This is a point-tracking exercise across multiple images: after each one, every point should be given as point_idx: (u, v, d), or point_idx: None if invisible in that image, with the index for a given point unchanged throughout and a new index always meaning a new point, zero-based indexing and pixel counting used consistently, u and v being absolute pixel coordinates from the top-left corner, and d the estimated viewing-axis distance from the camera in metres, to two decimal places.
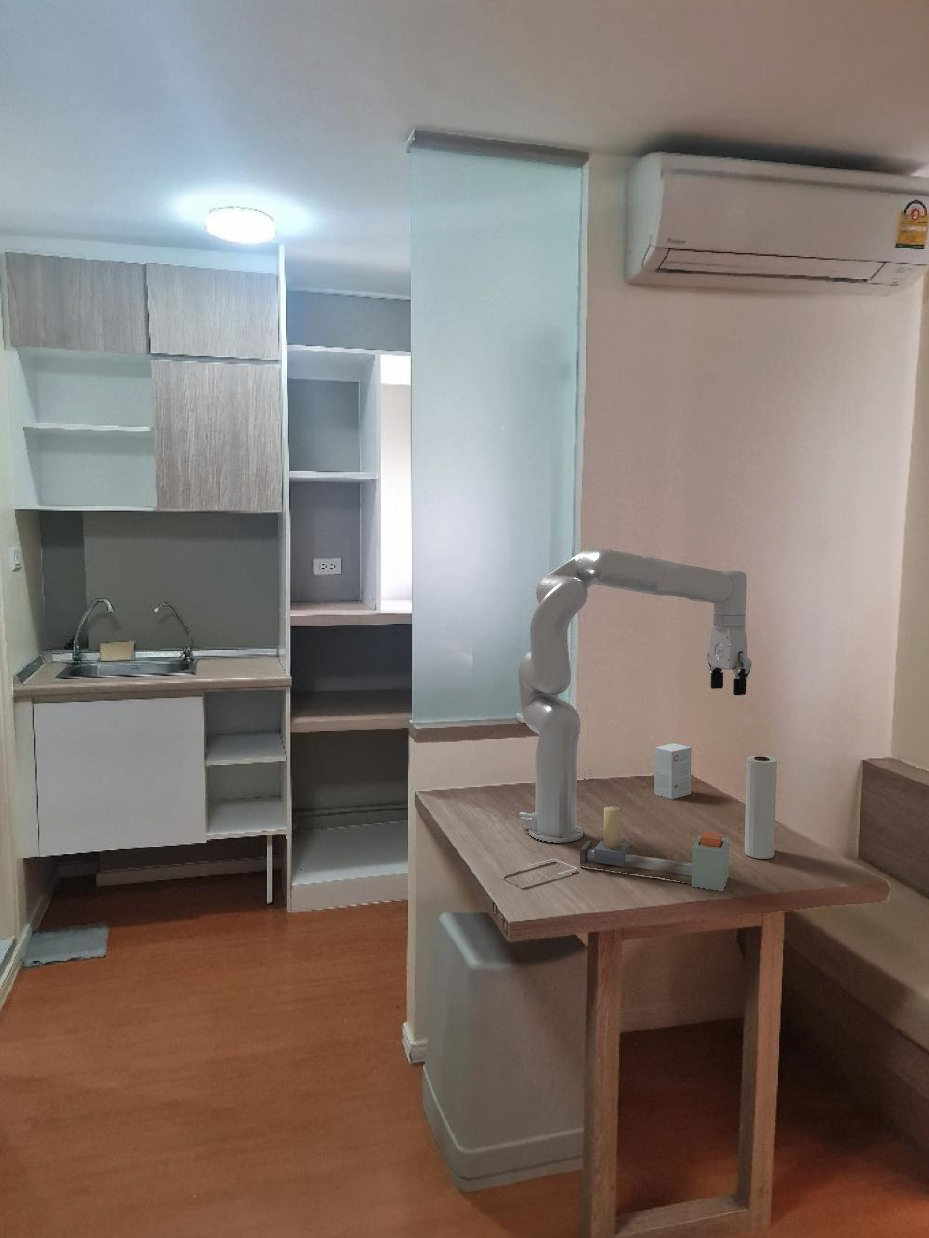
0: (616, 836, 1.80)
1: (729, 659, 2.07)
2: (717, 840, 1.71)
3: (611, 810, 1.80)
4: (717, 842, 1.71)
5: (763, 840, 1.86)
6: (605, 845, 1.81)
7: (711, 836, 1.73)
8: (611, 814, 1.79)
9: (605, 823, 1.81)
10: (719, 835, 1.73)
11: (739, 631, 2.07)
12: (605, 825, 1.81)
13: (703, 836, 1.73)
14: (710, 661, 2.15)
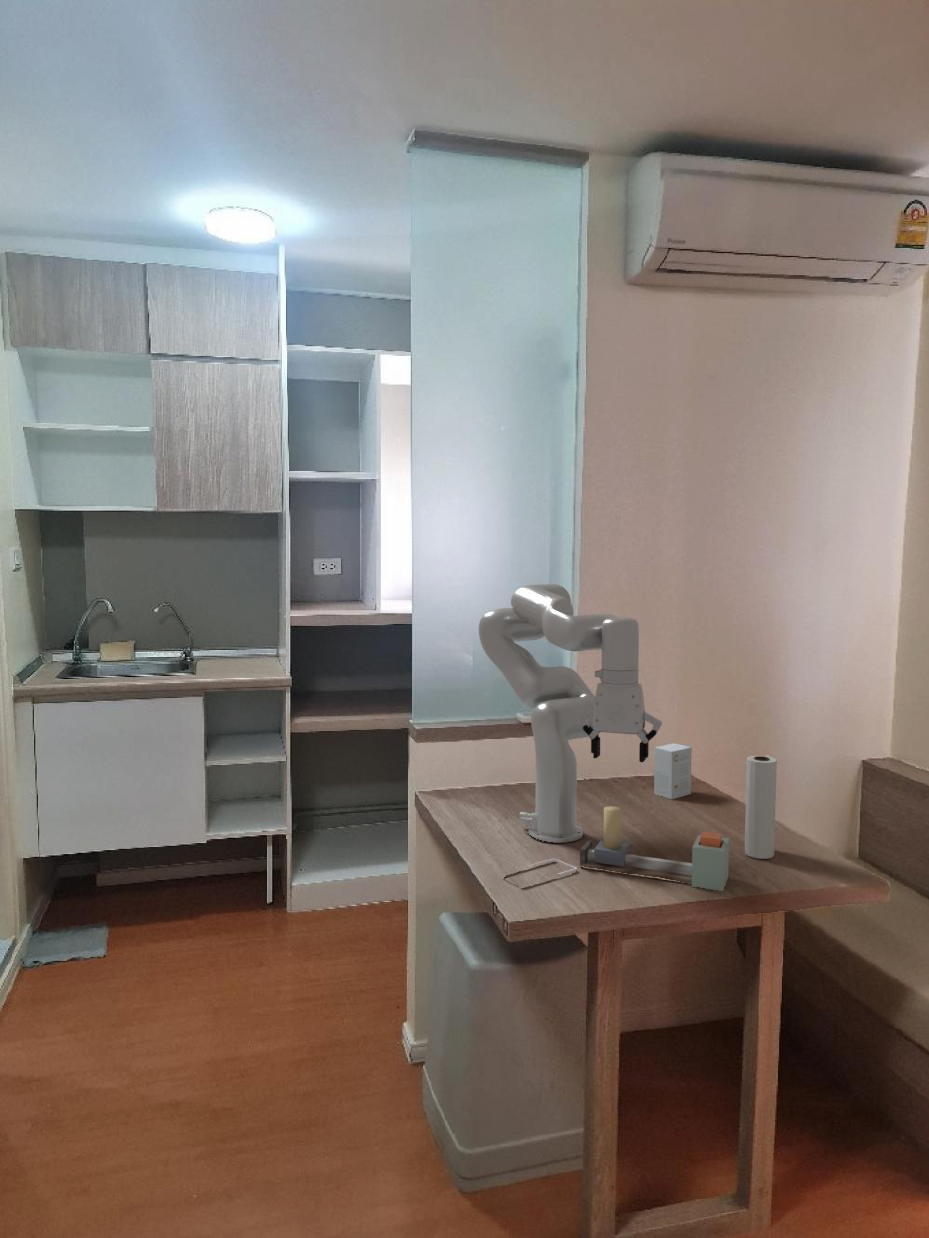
0: (616, 836, 1.80)
1: (637, 722, 1.77)
2: (717, 840, 1.71)
3: (611, 810, 1.80)
4: (717, 842, 1.71)
5: (763, 840, 1.86)
6: (605, 845, 1.81)
7: (711, 836, 1.73)
8: (611, 814, 1.79)
9: (605, 823, 1.81)
10: (719, 835, 1.73)
11: (641, 688, 1.78)
12: (605, 825, 1.81)
13: (703, 836, 1.73)
14: (599, 726, 1.80)
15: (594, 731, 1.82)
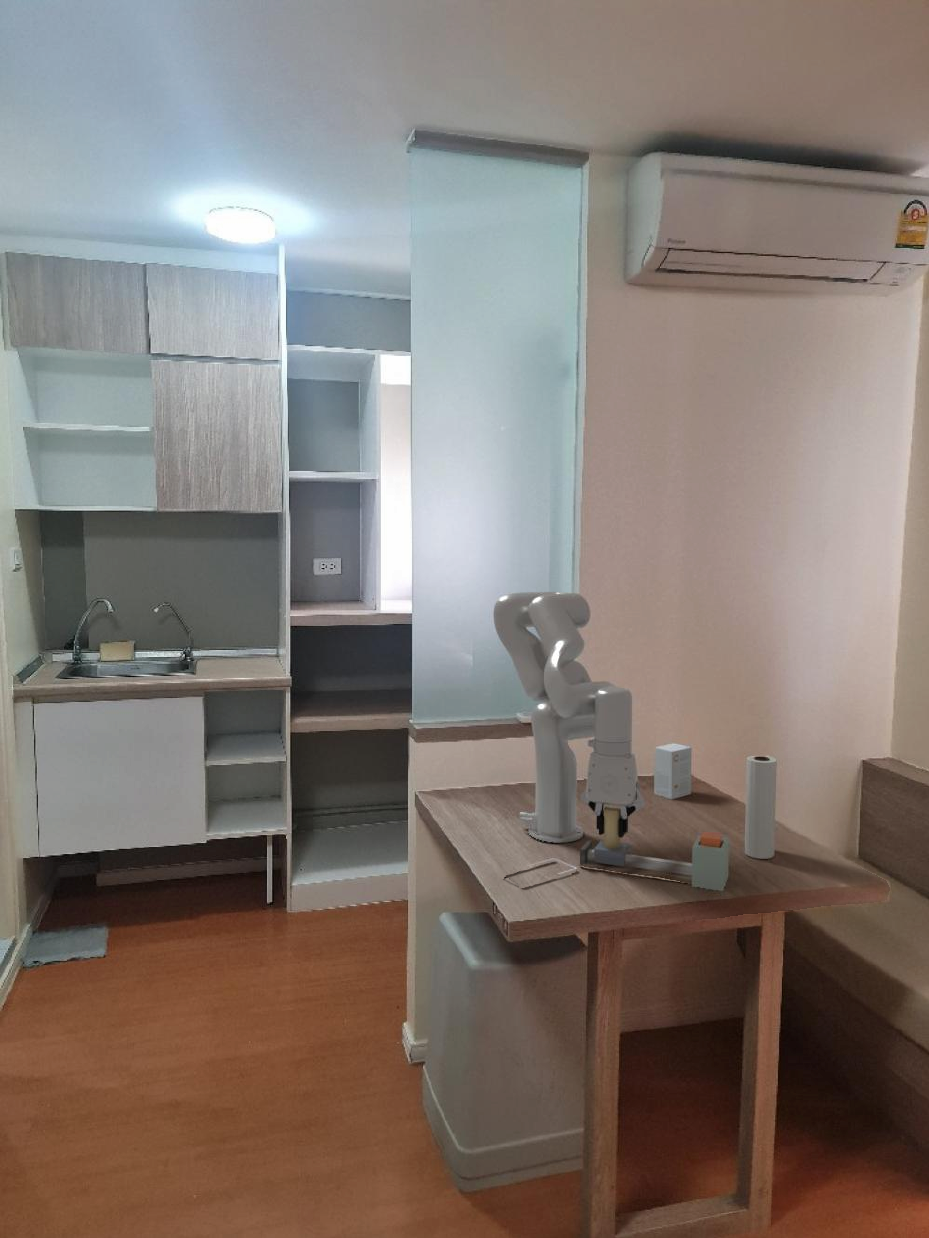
0: (616, 836, 1.80)
1: (630, 793, 1.77)
2: (717, 840, 1.71)
3: (611, 810, 1.80)
4: (717, 842, 1.71)
5: (763, 840, 1.86)
6: (605, 845, 1.81)
7: (711, 836, 1.73)
8: (611, 814, 1.79)
9: (605, 823, 1.81)
10: (719, 835, 1.73)
11: (634, 759, 1.78)
12: (605, 825, 1.81)
13: (703, 836, 1.73)
14: (592, 796, 1.80)
15: (597, 807, 1.81)
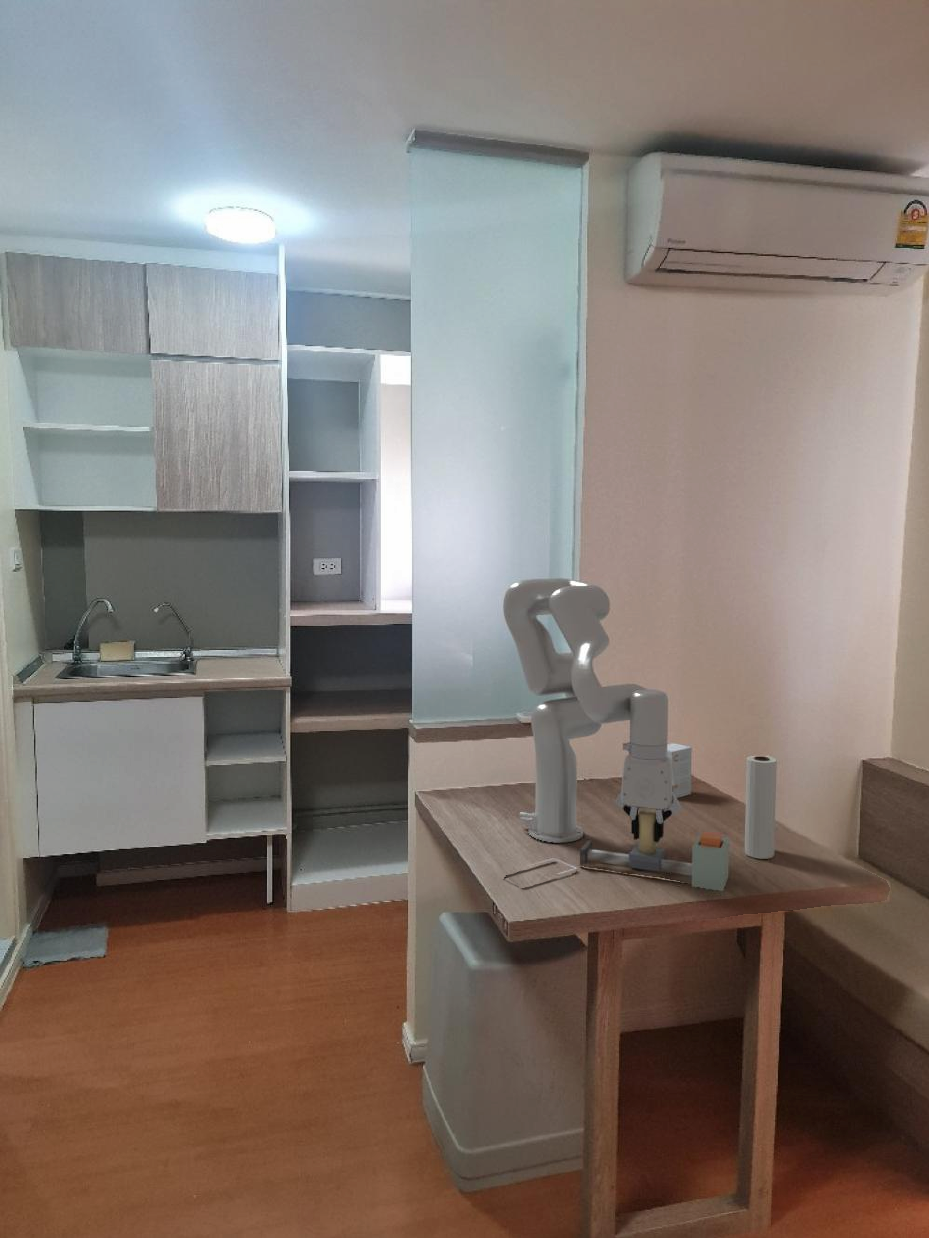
0: (651, 841, 1.77)
1: (666, 798, 1.74)
2: (717, 840, 1.71)
3: (647, 814, 1.77)
4: (717, 842, 1.71)
5: (763, 840, 1.86)
6: (640, 850, 1.78)
7: (711, 836, 1.73)
8: (647, 818, 1.77)
9: (640, 827, 1.78)
10: (719, 835, 1.73)
11: (670, 762, 1.75)
12: (640, 830, 1.78)
13: (703, 836, 1.73)
14: (627, 801, 1.77)
15: (632, 811, 1.78)
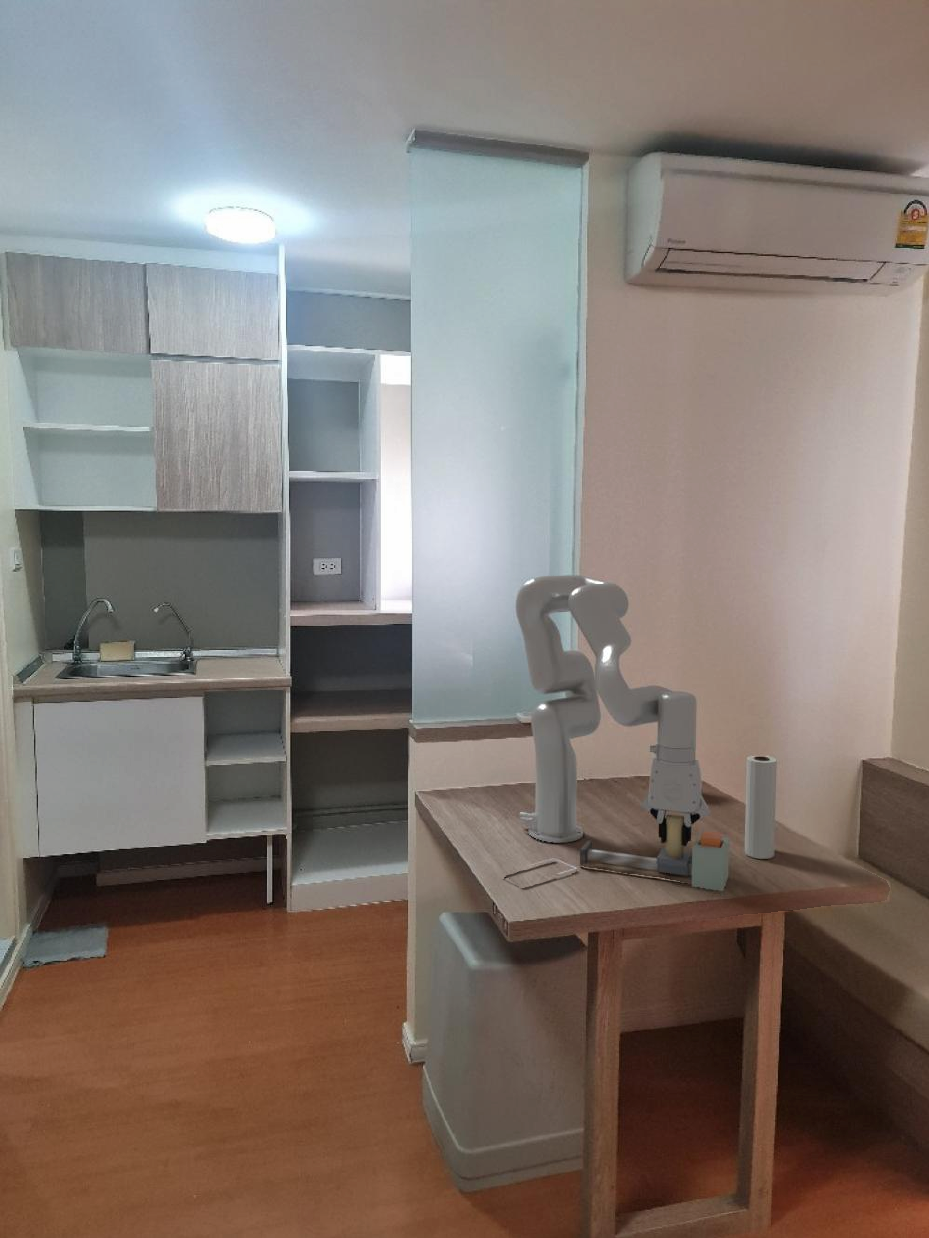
0: (679, 845, 1.75)
1: (695, 801, 1.71)
2: (717, 840, 1.71)
3: (674, 817, 1.75)
4: (717, 842, 1.71)
5: (763, 840, 1.86)
6: (668, 854, 1.76)
7: (711, 836, 1.73)
8: (675, 821, 1.74)
9: (668, 831, 1.75)
10: (719, 835, 1.73)
11: None
12: (668, 833, 1.75)
13: (703, 836, 1.73)
14: (654, 804, 1.75)
15: (659, 814, 1.76)
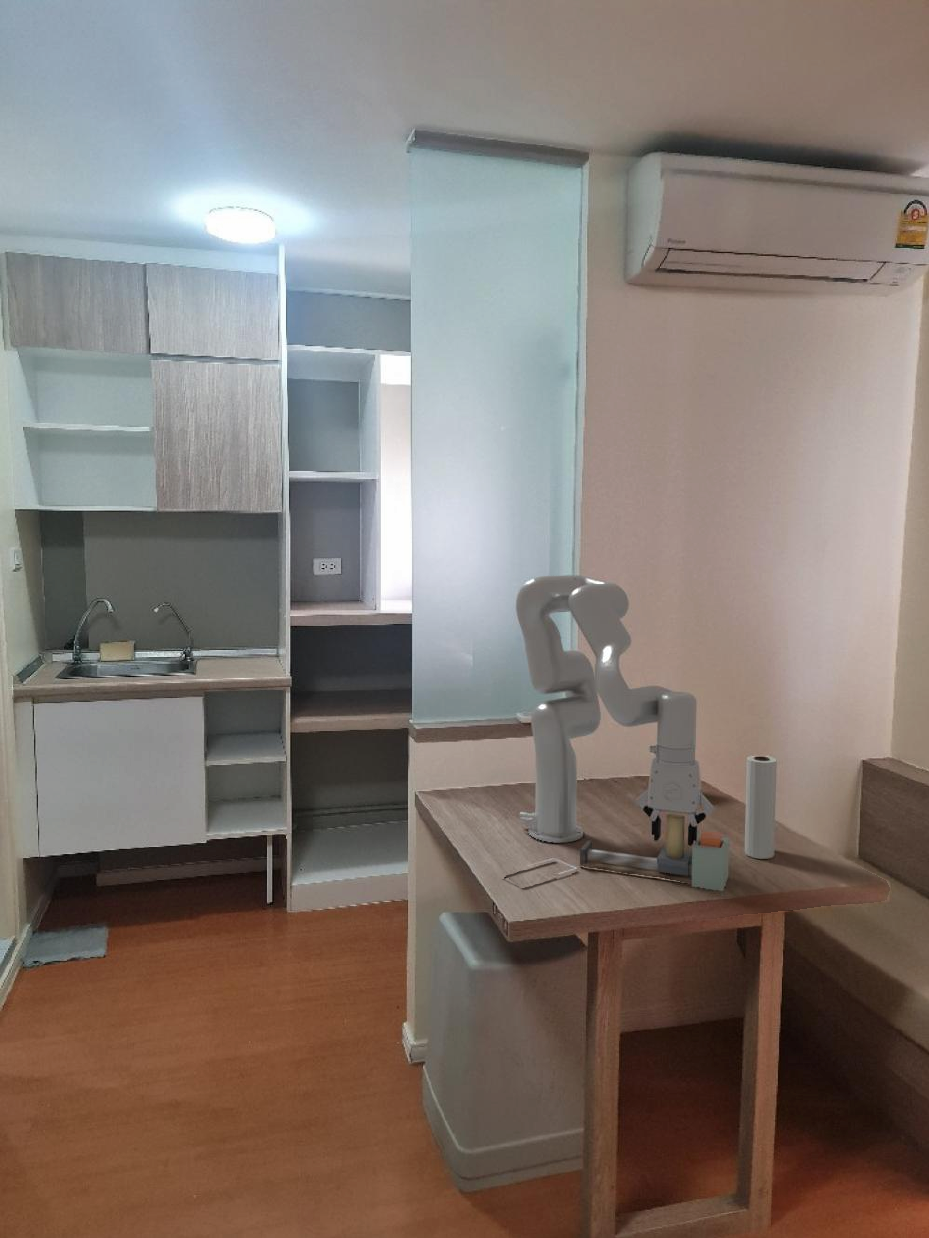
0: (680, 845, 1.75)
1: (694, 801, 1.71)
2: (717, 840, 1.71)
3: (675, 817, 1.75)
4: (717, 842, 1.71)
5: (763, 840, 1.86)
6: (668, 854, 1.76)
7: (711, 836, 1.73)
8: (675, 821, 1.74)
9: (668, 831, 1.75)
10: (719, 835, 1.73)
11: (698, 766, 1.73)
12: (668, 833, 1.75)
13: (703, 836, 1.73)
14: (654, 804, 1.75)
15: (653, 812, 1.76)
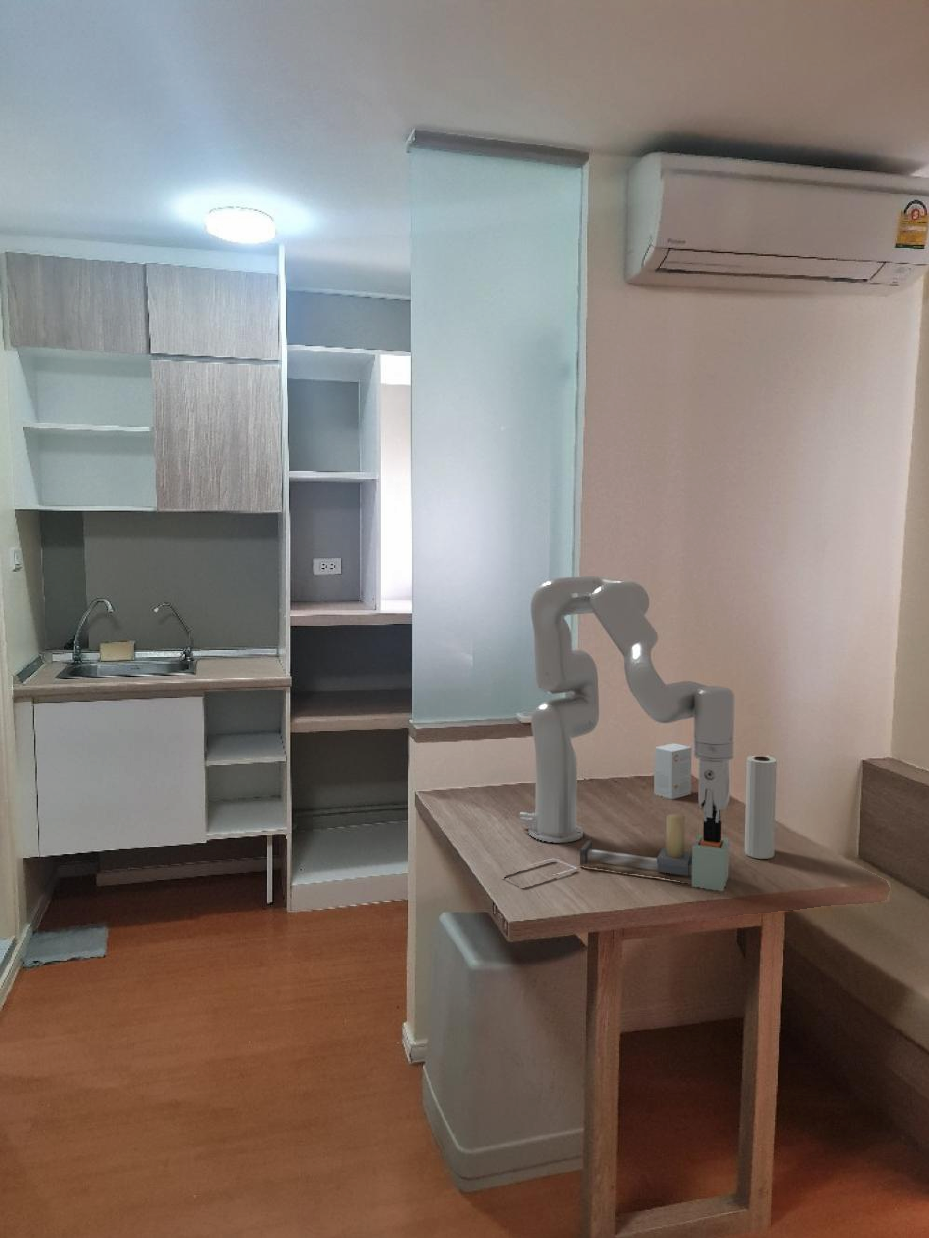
0: (680, 845, 1.75)
1: None
2: (717, 845, 1.71)
3: (675, 817, 1.75)
4: None
5: (763, 840, 1.86)
6: (668, 854, 1.76)
7: None
8: (675, 821, 1.74)
9: (668, 831, 1.75)
10: None
11: None
12: (668, 833, 1.75)
13: (703, 841, 1.73)
14: (724, 806, 1.68)
15: (718, 815, 1.71)
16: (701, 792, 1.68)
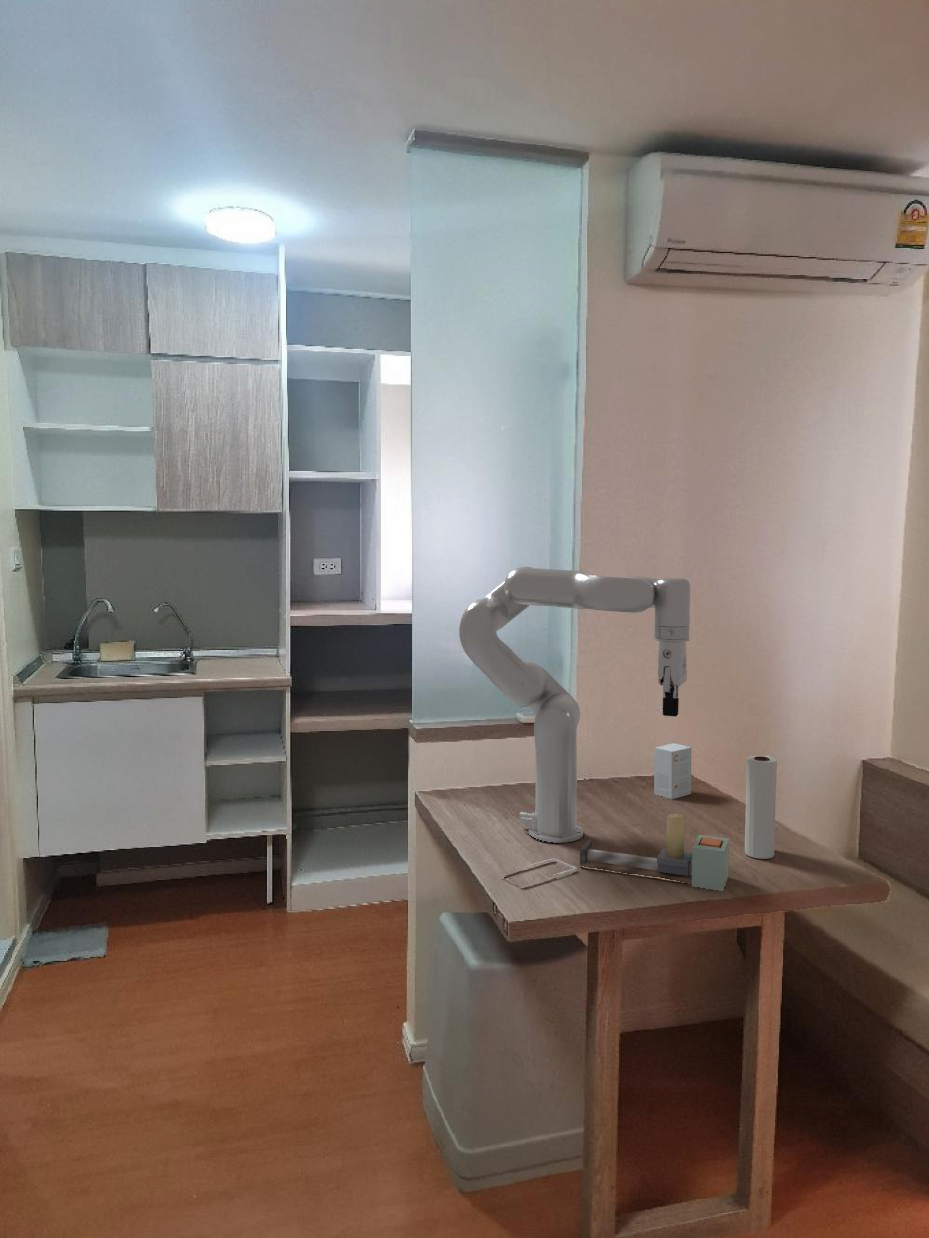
0: (680, 845, 1.75)
1: (686, 670, 1.97)
2: (717, 846, 1.71)
3: (675, 817, 1.75)
4: None
5: (763, 840, 1.86)
6: (668, 854, 1.76)
7: (711, 842, 1.73)
8: (675, 821, 1.74)
9: (668, 831, 1.75)
10: (719, 841, 1.73)
11: None
12: (668, 833, 1.75)
13: (703, 842, 1.73)
14: (680, 681, 1.90)
15: (675, 691, 1.92)
16: (660, 669, 1.90)
